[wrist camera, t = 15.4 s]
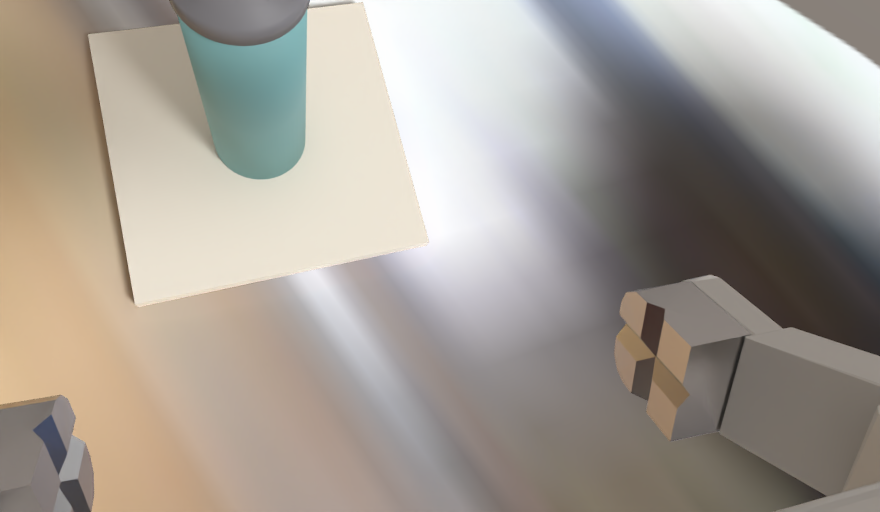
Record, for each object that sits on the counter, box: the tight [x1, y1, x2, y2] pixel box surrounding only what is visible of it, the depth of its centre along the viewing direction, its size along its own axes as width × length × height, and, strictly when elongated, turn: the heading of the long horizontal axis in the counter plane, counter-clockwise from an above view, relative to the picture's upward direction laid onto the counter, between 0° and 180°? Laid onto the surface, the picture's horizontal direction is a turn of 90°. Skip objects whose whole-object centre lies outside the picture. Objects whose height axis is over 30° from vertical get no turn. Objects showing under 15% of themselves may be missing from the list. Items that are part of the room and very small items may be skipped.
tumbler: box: [169, 0, 310, 179], centre depth 24 cm, size 4×4×11 cm
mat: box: [88, 2, 429, 307], centre depth 29 cm, size 12×12×1 cm
